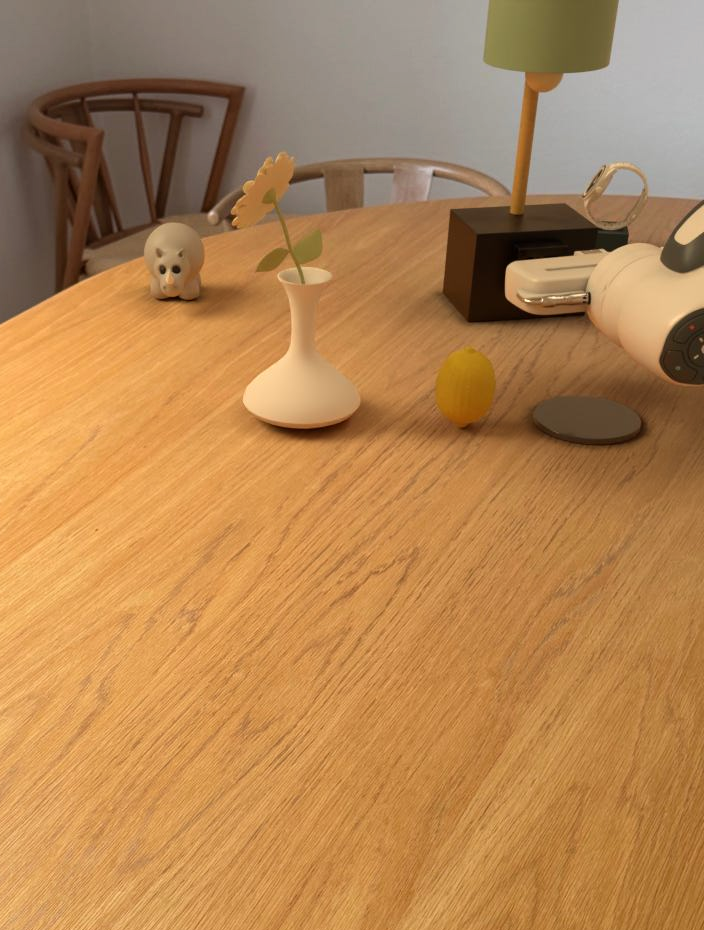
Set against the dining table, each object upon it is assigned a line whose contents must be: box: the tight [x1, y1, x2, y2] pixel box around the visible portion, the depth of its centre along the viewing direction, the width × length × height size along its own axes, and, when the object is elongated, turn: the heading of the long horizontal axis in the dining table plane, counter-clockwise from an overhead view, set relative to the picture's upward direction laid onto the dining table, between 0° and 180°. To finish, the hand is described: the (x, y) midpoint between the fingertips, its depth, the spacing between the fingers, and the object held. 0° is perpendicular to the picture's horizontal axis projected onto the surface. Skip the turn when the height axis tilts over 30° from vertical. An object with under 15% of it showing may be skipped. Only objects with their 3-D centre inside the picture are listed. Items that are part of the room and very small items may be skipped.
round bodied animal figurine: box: [143, 221, 206, 301], centre depth 147 cm, size 7×12×8 cm, turn 176°
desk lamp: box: [442, 0, 620, 323], centre depth 138 cm, size 13×14×34 cm
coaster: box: [532, 395, 642, 446], centre depth 121 cm, size 10×10×1 cm
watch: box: [581, 161, 649, 252], centre depth 161 cm, size 6×8×11 cm
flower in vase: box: [230, 151, 362, 430], centre depth 115 cm, size 13×11×25 cm
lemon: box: [434, 346, 497, 429], centre depth 118 cm, size 6×6×8 cm
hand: (587, 257), depth 128 cm, fingers closed
